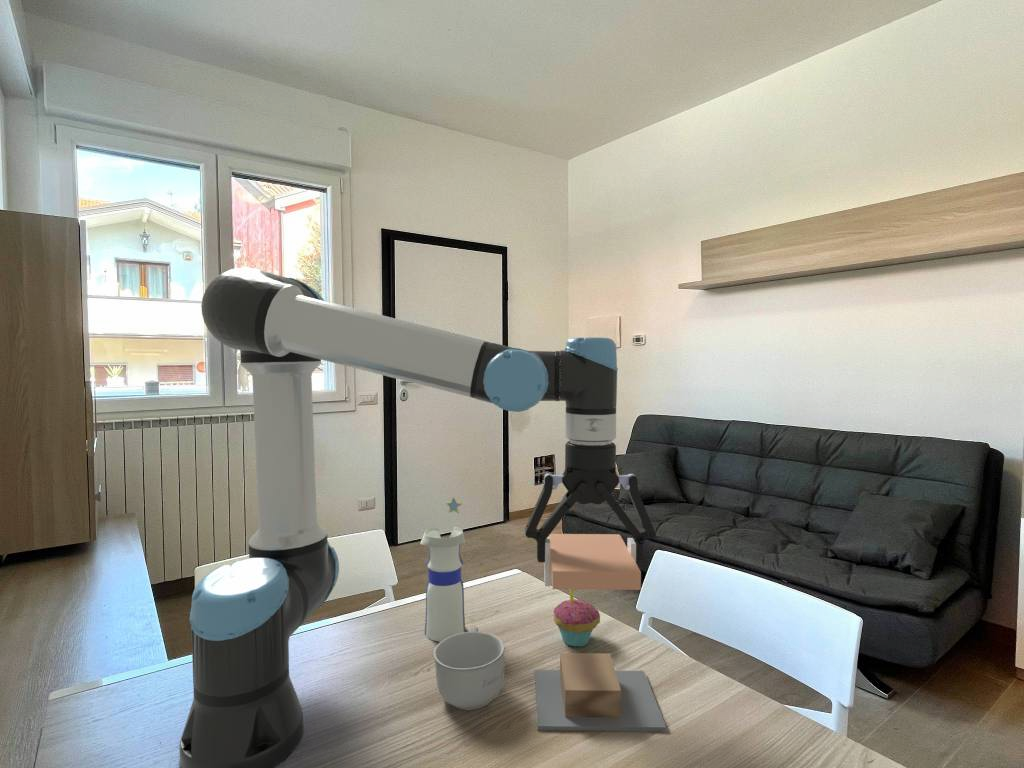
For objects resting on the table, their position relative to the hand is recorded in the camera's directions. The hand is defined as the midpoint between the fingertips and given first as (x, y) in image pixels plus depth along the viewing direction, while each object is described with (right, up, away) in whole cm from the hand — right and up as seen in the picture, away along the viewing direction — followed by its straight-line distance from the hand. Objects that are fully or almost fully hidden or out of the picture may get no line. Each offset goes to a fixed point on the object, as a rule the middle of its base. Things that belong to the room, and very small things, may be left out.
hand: (589, 583), depth 84 cm
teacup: (-18, -18, +3) cm, 26 cm away
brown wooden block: (0, -18, +1) cm, 18 cm away
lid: (0, +2, 0) cm, 2 cm away
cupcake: (0, -18, +19) cm, 26 cm away
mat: (+1, -18, +1) cm, 18 cm away
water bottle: (-25, -17, +22) cm, 37 cm away
